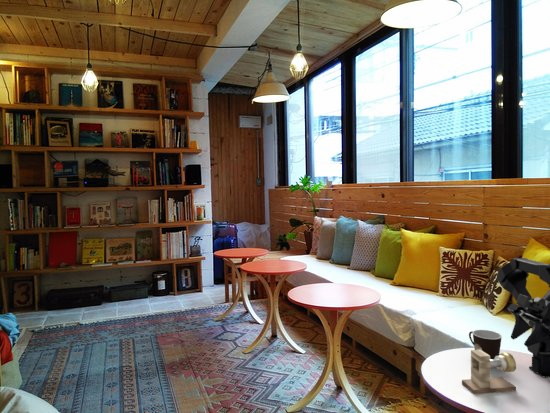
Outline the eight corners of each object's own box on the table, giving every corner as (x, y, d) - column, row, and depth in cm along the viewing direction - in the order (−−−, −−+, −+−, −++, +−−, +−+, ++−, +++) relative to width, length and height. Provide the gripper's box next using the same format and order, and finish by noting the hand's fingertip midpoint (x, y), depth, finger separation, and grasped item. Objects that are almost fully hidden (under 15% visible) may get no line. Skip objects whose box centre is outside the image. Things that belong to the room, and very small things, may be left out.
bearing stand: (502, 380, 117) (501, 347, 117) (516, 390, 111) (516, 355, 111) (461, 383, 116) (461, 349, 116) (474, 394, 110) (473, 358, 110)
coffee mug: (505, 370, 124) (505, 339, 124) (477, 368, 126) (477, 338, 125) (493, 355, 135) (493, 327, 135) (466, 353, 137) (466, 326, 137)
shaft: (503, 366, 117) (503, 350, 116) (516, 374, 111) (516, 357, 111) (476, 368, 116) (476, 351, 116) (487, 376, 111) (487, 359, 110)
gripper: (512, 278, 123) (480, 314, 123) (561, 293, 105) (523, 335, 104) (535, 301, 124) (503, 337, 124) (587, 320, 106) (550, 362, 105)
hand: (518, 341), depth 114 cm, fingers open, 5 cm apart
